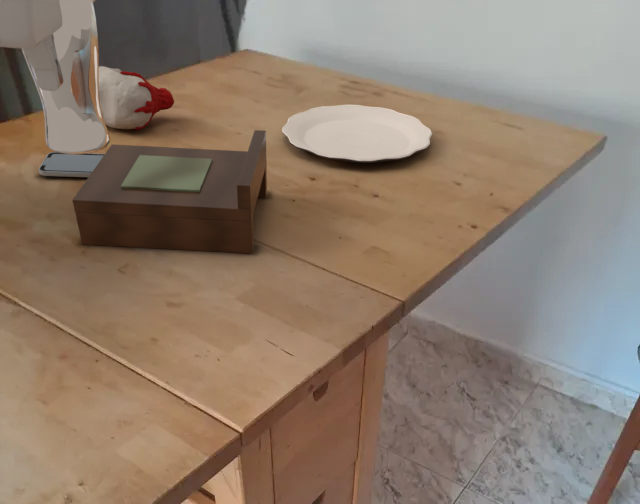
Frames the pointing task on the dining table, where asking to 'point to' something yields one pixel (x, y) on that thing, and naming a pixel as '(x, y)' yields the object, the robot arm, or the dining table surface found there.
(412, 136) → the plate
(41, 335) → the dining table surface
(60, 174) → the smartphone
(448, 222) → the dining table surface
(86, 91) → the beer glass
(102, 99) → the white irregular lump
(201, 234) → the shelf
